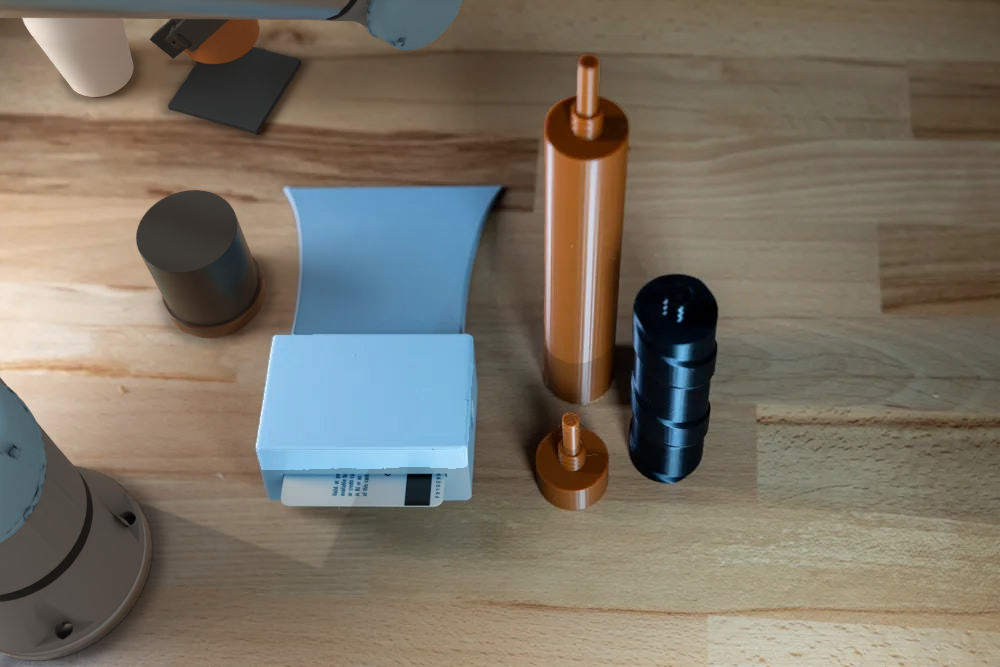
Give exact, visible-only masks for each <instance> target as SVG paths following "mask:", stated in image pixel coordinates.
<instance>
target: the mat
mask: <svg viewBox="0 0 1000 667" xmlns="http://www.w3.org/2000/svg"><path fill="white" fill-rule="evenodd" d="M301 65H302V59H301V58H297V57H293V56H290V55H286V54H283V53H279V52H276V51H271V50H267V49H265V48H264V49H263V48H260V47H257V46H253V47H252V48H251V49H250V50H249V51H248V52H247V53H246V54H245V55H243V56H241V57H240V58H238V59H235V60H233V61H230V62H227V63H222V64H206V63H201V62H198V61H196V63H195V64H194V66H193V68H192V69H191V70H190V72H189V73H188V75H187V76H186V77H185V79H184V80H183V82H182V84H181V85H180V87H179V88H178V90H177V91H176V93H175V94H174V95H173V97H172V99H171V100H170V101H169V103H168V104H167V108H168V110H170V111H172V112H173V111H174V112H177V113H180V114H184V115H187V116H190V117H194V118H198V119H201V120H204V121H209V122H212V123H215V124H219V125H223V126H226V127H230V128H232V129H236V130H239V131H244V132H247V133H251V134H254V135H259V133H260V131H261V130H262V128H264V125H265V123H266V122H267V120H268V119H269V117H270V115H271V114H272V112H273V111H274V109H275V107H276V106H277V105H278V102H280V100H281V97H282V96H283V95H284V92H286V90H287V88H288V86H289V85H290V83H291V81H292V80H293V79H294V77H295V76H296V73H297V72H298V70H299V69H300V67H301Z"/></svg>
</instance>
